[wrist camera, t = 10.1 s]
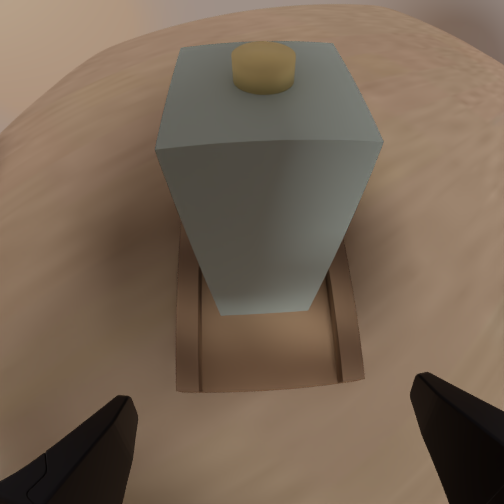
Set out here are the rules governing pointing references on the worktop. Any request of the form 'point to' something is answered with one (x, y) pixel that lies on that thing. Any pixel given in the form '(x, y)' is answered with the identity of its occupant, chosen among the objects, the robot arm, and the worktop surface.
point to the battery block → (265, 166)
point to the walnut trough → (265, 337)
